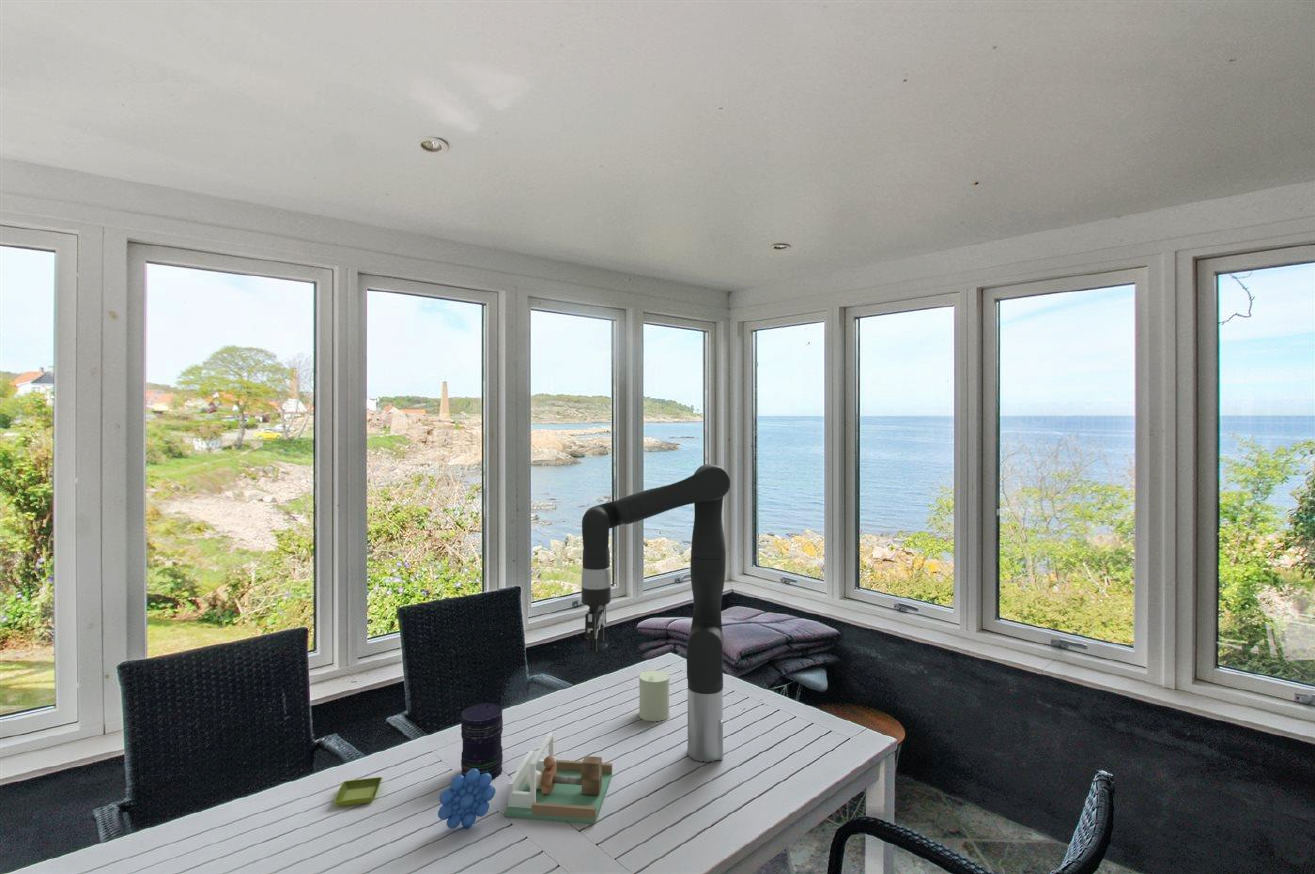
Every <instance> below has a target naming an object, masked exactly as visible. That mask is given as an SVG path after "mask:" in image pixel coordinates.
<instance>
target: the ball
mask: <svg viewBox="0 0 1315 874" xmlns="http://www.w3.org/2000/svg"><path fill="white" fill-rule="evenodd" d="M526 782H527V786H528V787H529V788H530V773H529V775H528V776H527V781H526ZM541 787H542V773H541V772H540V771H538V770H536V790H538V789H539V788H541Z"/></svg>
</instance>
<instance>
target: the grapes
mask: <svg viewBox="0 0 1315 874" xmlns="http://www.w3.org/2000/svg"><path fill="white" fill-rule="evenodd" d="M479 776H480V772H479V770H478V769H475V768H474V769H471V770H469V771H468V772H467V774H466V777H464V776H463V775H462V774H456V775H455V776H454V777H452V779H451V781H450V783H449V787H448V788H445V789H444V790H443V791H441V792H440V795H439V796H438V797H439V800H438V801H439V803H440V804H441V806H440V807H439V809H438V811H437V817H438V818H439V819H440V820H442V821H445V820H446V826H447V828H448V829H451V830H453V829H456V828H457V827H458V826H460V825H461V826H463V828H469V827H472V826H473V825H474V823H475V822H476V819H477V817H479V818H480V817H484V816H485V815H486V814H488V811H489V809H490V803H489V802H490V801H491V800H493V799H494V797H495V794H496V788H495V787H494V785H491V783H492V782H493V780H492V776H491V775H490V774H489V773H484V774H482V775H481V776H480V777H479Z"/></svg>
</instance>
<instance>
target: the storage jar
mask: <svg viewBox="0 0 1315 874" xmlns="http://www.w3.org/2000/svg"><path fill="white" fill-rule="evenodd" d="M503 723H504V721H503V707H502V706H501V705H499V704H495V703H492V702H491V703H487V702H486V703H478V704H473V705H470V706H468V707H467V708H465V709H464V710H463V711H461V726H460V729H461V733H460V734H461V735H460V736H461V739H462V751H461V755H460V756H461V760H460V764H461V765H460V766H461V775H463V776H464V777H466V774H467V772H468V771H469V770H471V769H474V768H475V769H478V770H479V772H480V776H481V775H482V774H484V773H489V774H490V775H491V776H492V781H494V780H496V779H497V778H498V776H499V775H500V776H501V775H502V772H503V756H504V755H503V746H502V734H503V729H504V728H503ZM480 776H479V777H480ZM500 776H499V777H500ZM496 777H497V778H496ZM495 778H496V779H495ZM493 779H494V780H493Z"/></svg>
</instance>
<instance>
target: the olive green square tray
mask: <svg viewBox="0 0 1315 874" xmlns="http://www.w3.org/2000/svg"><path fill="white" fill-rule="evenodd" d="M382 780H383V777H382V776H378V777H370V778H369V777H368V778H360V779H352V780H351V779H350V780H345V781H343V782H342V783H341V785H340V787H339V789H338V791H337V793H336V796H335V797H334V799H333V803H334V804H335V805H336V806H338V807H344V806H345V807H346V806H353V805H354V806H355V805H361V804H363V805H364V804H369V803H372V802H373V801H374V800H375V798H376V796H377V794H378V791H379V789H380V786H381V783H382Z"/></svg>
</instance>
